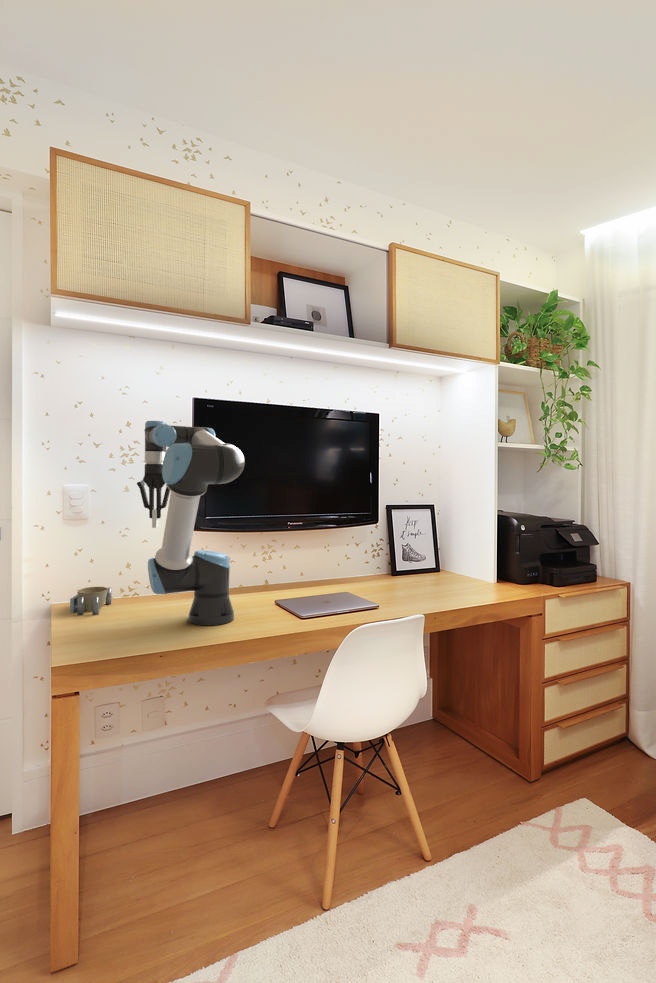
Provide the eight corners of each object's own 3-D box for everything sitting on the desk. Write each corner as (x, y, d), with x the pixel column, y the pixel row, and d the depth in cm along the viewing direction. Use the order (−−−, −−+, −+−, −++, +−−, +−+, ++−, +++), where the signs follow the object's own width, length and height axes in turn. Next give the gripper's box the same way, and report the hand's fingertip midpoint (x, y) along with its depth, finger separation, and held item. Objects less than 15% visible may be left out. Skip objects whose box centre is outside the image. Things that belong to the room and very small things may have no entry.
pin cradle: (111, 603, 197) (112, 587, 197) (97, 615, 181) (97, 598, 181) (83, 603, 196) (83, 587, 196) (66, 615, 180) (66, 598, 180)
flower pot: (88, 604, 195) (88, 585, 194) (113, 606, 193) (113, 587, 193) (71, 612, 185) (71, 591, 185) (96, 613, 183) (96, 593, 183)
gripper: (175, 463, 197) (175, 526, 198) (139, 463, 196) (139, 526, 197) (171, 463, 190) (171, 528, 191) (134, 462, 188) (134, 528, 189)
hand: (155, 527), depth 194 cm, fingers closed
